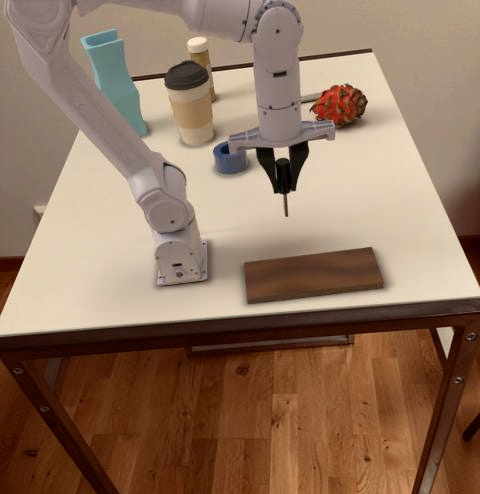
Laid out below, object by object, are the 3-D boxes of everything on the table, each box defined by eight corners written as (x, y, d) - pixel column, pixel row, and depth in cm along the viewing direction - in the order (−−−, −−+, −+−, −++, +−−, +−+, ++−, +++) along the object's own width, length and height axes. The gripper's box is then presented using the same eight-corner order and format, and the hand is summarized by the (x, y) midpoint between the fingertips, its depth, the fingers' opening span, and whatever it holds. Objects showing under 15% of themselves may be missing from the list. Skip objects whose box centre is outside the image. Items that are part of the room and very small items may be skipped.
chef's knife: (272, 102, 118) (274, 107, 115) (272, 97, 117) (274, 102, 115) (354, 88, 117) (358, 93, 115) (355, 83, 116) (358, 88, 114)
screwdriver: (291, 207, 80) (288, 156, 73) (293, 216, 78) (290, 164, 72) (278, 209, 80) (274, 158, 73) (280, 217, 78) (276, 166, 72)
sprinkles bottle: (194, 103, 122) (183, 44, 112) (202, 95, 124) (191, 36, 115) (212, 104, 120) (202, 44, 110) (219, 95, 123) (210, 36, 113)
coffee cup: (213, 149, 107) (200, 76, 95) (172, 149, 109) (155, 78, 97) (222, 127, 112) (211, 56, 101) (184, 127, 114) (169, 58, 103)
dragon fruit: (371, 129, 107) (314, 141, 110) (367, 91, 108) (310, 104, 111) (370, 110, 99) (308, 123, 102) (365, 69, 100) (304, 83, 103)
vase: (150, 134, 114) (124, 39, 99) (116, 145, 113) (85, 50, 98) (141, 120, 119) (116, 28, 105) (109, 130, 118) (78, 38, 103)
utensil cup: (249, 173, 99) (247, 155, 96) (216, 178, 99) (212, 160, 96) (247, 156, 103) (245, 138, 100) (215, 160, 103) (212, 142, 100)
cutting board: (383, 287, 74) (384, 282, 73) (247, 303, 75) (246, 298, 74) (371, 252, 80) (371, 246, 79) (244, 267, 81) (243, 262, 80)
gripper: (329, 78, 68) (328, 167, 78) (222, 93, 69) (235, 180, 79) (338, 101, 63) (336, 193, 73) (223, 118, 64) (237, 207, 74)
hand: (284, 188), depth 76 cm, fingers closed on screwdriver, 2 cm apart
